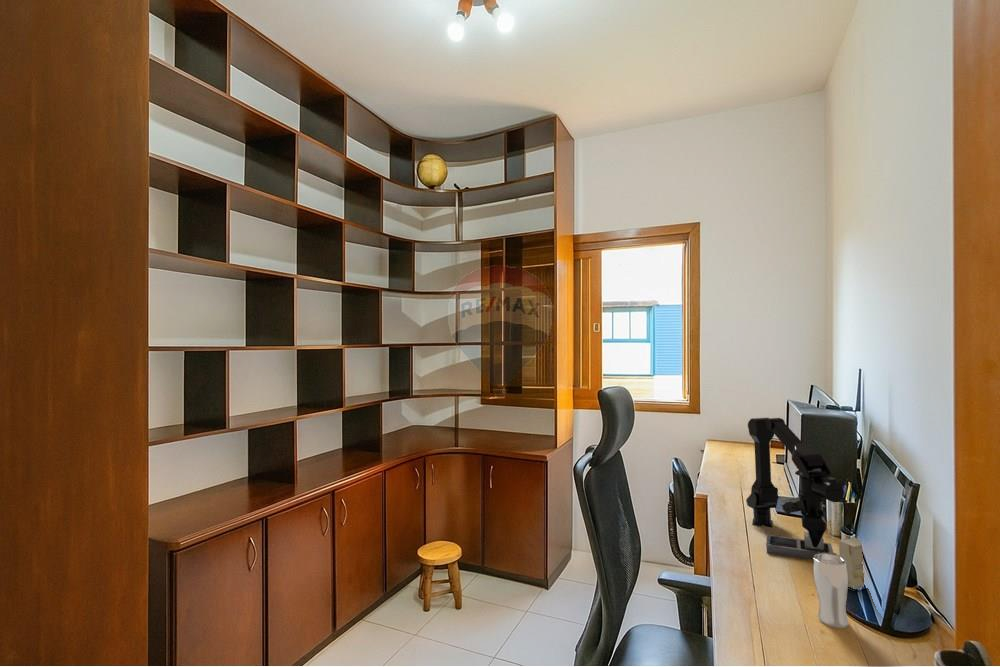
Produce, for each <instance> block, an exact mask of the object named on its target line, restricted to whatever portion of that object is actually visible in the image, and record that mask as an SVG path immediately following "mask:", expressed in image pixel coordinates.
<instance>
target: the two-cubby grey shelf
mask: <svg viewBox="0 0 1000 667" xmlns="http://www.w3.org/2000/svg"><path fill="white" fill-rule="evenodd" d="M765 543H766V554H772V555H779V556H785V557H791V558H797V559H802V560H810V561H814V555H815V554H820V553H824V554H831V555H834V550H833V546H832V543H830V542H825V541H824V552H817V551H811V550H805V541H804V539H801V538H796V537H789V536H781V535H774V534H767V533H766V542H765Z"/></svg>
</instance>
